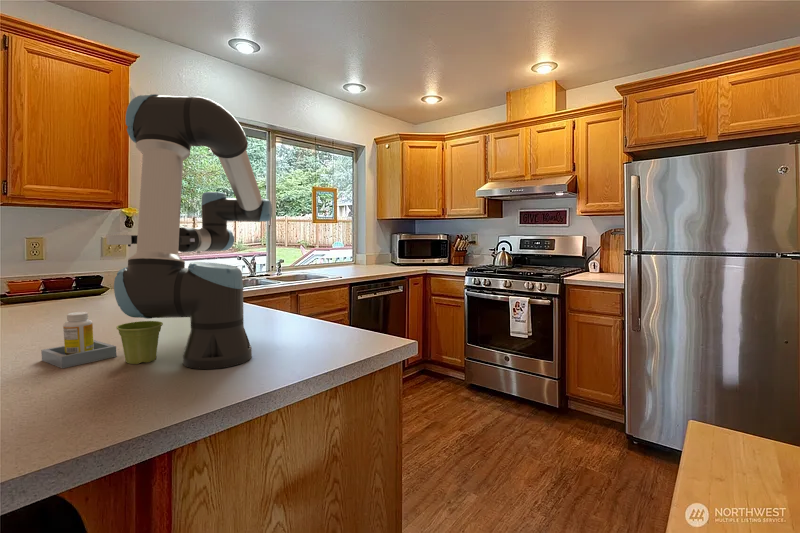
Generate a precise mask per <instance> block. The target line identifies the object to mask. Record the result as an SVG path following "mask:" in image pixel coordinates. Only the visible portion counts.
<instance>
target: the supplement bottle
mask: <svg viewBox="0 0 800 533" xmlns="http://www.w3.org/2000/svg"><path fill="white" fill-rule="evenodd" d="M66 319H67V320H66V322H64V323H63V325H62V327H63V340H64V341H63V342H64V345H63V346H65V355H69V354H74V353H79V352H84V351H89V350H94V342H93V340H94V330H93V329H94V327H93V325H94V323H93V320H91V319H89V312H87V311H76V312H71V313H70V312H69V313H67V314H66Z"/></svg>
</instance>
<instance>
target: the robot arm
mask: <svg viewBox="0 0 800 533" xmlns="http://www.w3.org/2000/svg"><path fill="white" fill-rule="evenodd" d="M125 125H126V126H127V128H126V132H127V135H128V136H129V138H130V140H131V141H132V142H133V143H135V148H136V149H137V150H138V151H139V152H140V153H141V154H142V164H141V177H140V192H139V208H138V220H137V221H138V224H137V235H136V234H135V235H132V234H106V237H105V239H106V240H105V241H106V245H109V246H111V245H115V246H116V245H119V246H120V245H122V246H124V245H127V246H128V247H131V246H132V245H136V251H135V253H134V254H133V255H131V256H130V257H128V259H127V266H126V267H123V268H121V269H119V270H118V272H117V273H116V276H115V277H114V280H113V281H114V282H113V294H114V298H115V301H116V303H117V306H118V307H119V308H120V310H121V311H122V313H123V314H124V315H126V316H128V317H131V318H134V319H135V318H138V319H139V318H142V319H146V320H147V319H160V318H161V319H162V318H164V319H165V318H174V319H175V318H176V319H177V318H189V321H190V331H189V335H188V338H187V341H186V344H185V348H184V351H183V353H182V362H183V363H182V365H183V366H184V367H187V368H190V369H196V370H214V369H224V368H228V367H234V366H237V365H241V364H244V363H246V362H248V361H250V360H252V357H253V356H252V354H253V350H252V346H251V343H250V340H249V338H248V335H247V332H246V330H245V325H244V324H245V322H244V321H245V320H244V288H245V287H244V283H243V272H242V271H241V269H240V268H239V267H237V266H234V265H230V264H226V263H217V262H202V261H192V262H189V264H188V266H187V267H185V265H186V262H185V260H184V259H182V257H181V256H180V255H179V252H180V253H193V252H194V253H195V252H196V253H197V254H201V252H222V251H228V250H229V249H231V248H232V247H233V246H234V243H235V236H234V233H233V232H232V230H230V229H229V228H228V227H227V226H228V225H227V224H228V223H227V222H251V223H253V222H256V223H261V222H270V221H271V219H272V217H273V204H272V202H271V200H270V199H266V198H262V195H261V191H260V188H259V185H258V183H257V179H256V177H255V174H254V170H253V167H252V164H251V161H250V158H249V155H248V152H247V148H248V146H249V143H248V139H247V136H246V133H245V130H244V129H243V127H242V126H241V124H240V123H239V122H238V120H237V119H236V118H235V116H233V115H232V113H231V112H230V111H229V110H227V109H226V108H225V107H223V106H222V105H221V104H220V103H217V102H215V100H212V99H210V98H206V97H202V96H183V95H182V96H181V95H180V96H179V95H159V94H157V93H153V94H152V93H151V94H140V95H137V96H135V97H133V98H132V99H131V100H130V102H129V103H128V105H127V107H126V111H125ZM191 147H206V148H209V149H210V151H211V153H213V155H214V156H216V157H217V158H218V160H219V162H220V164H221V166H222V168H223V171H224V173H225V175H226V178H227V181H228V183H229V185H230V187H231V190H232V192H233V196H235V198H232V197H231V198H230V197H227V194H226V193H225V192H221V191H205V192H203V193H201V194H202V195H201V205H200V207H201V224H202V225H201V226H202V227H180V226H181V210H182V209H181V206H182V189H183V188H182V186H183V170H184V169H183V168H184V161H185V160H186V159H188V158H189V157H190V156H191Z"/></svg>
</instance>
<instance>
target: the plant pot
mask: <svg viewBox="0 0 800 533" xmlns="http://www.w3.org/2000/svg"><path fill="white" fill-rule="evenodd" d="M162 326H164V323H163V321H158V320H141V321H131V322H126V323H122V324H119V325H117V326H116V330H118V335H120V340H121V342H122V349H123V355H124V358H125V362H126V363H127V364H131V365H132V364H133V365H138V364H140V363H150V362H153V361H154V360H156V359H157V353H158V352H157V350H158V344H159V337H160V332H161V328H162Z"/></svg>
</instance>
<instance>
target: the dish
mask: <svg viewBox="0 0 800 533" xmlns="http://www.w3.org/2000/svg"><path fill="white" fill-rule="evenodd" d="M93 342H94V350H89V351H84V352H79V353H74V354H69V355H65V345H61V346H56V347H50V348H44V349H41V361H42V362H45V363H47V364H49V365H53V366H54V367H57V368H60V369H65V368H71V367H76V366H79V365H84V364H88V363H93V362H97V361H102V360H108V359H111V358H116V357H117V346H116V345H114V344H109V343H106V342H103V341H98V340H95V339H93Z"/></svg>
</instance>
